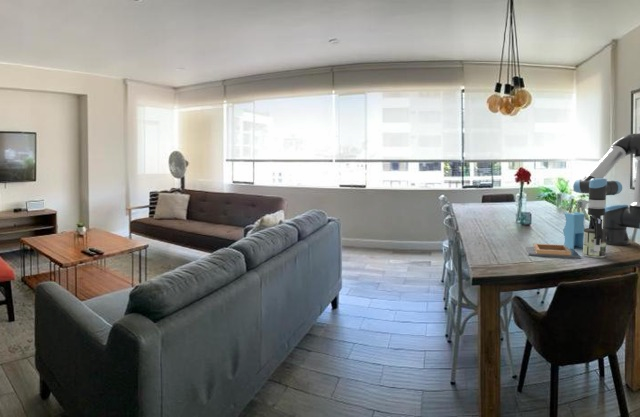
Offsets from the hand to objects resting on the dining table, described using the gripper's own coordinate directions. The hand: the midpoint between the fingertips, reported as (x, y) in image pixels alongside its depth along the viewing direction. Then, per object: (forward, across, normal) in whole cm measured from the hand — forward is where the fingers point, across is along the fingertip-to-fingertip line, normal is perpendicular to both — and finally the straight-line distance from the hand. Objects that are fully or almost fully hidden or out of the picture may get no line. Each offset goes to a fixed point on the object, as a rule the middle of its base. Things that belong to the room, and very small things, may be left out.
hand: (594, 248), depth 213 cm
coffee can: (+4, 0, 0) cm, 4 cm away
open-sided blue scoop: (+4, -19, -6) cm, 20 cm away
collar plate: (+4, 0, -20) cm, 20 cm away
